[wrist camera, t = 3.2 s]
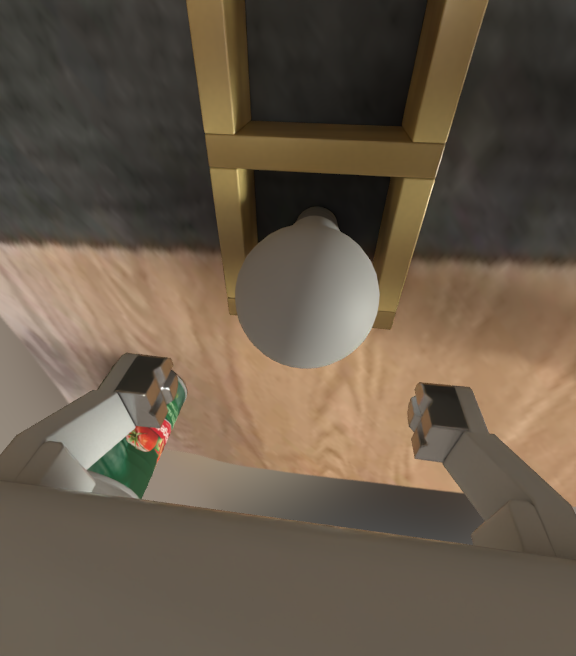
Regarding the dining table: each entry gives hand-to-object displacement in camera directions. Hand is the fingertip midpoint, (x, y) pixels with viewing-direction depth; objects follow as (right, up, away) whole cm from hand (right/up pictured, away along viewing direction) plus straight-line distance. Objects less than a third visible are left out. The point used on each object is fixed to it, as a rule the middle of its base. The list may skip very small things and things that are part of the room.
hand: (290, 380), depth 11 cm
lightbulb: (+2, +8, +9) cm, 13 cm away
